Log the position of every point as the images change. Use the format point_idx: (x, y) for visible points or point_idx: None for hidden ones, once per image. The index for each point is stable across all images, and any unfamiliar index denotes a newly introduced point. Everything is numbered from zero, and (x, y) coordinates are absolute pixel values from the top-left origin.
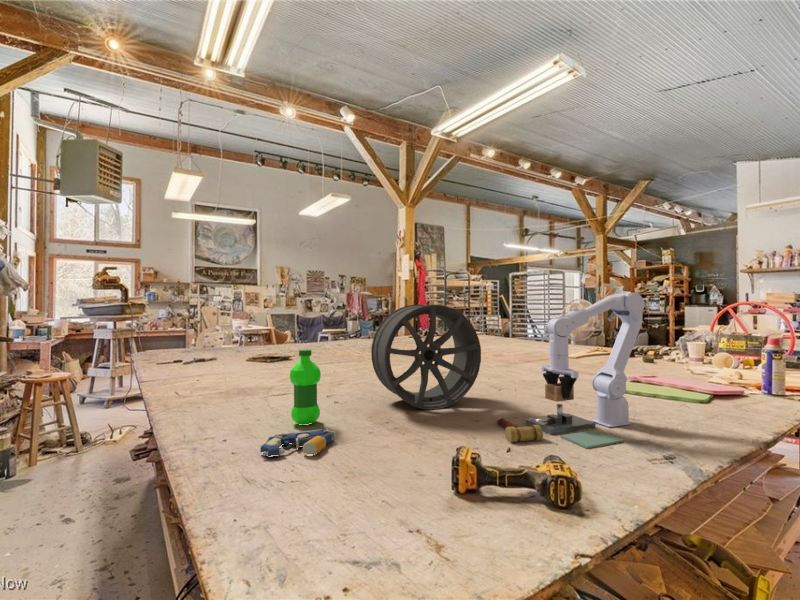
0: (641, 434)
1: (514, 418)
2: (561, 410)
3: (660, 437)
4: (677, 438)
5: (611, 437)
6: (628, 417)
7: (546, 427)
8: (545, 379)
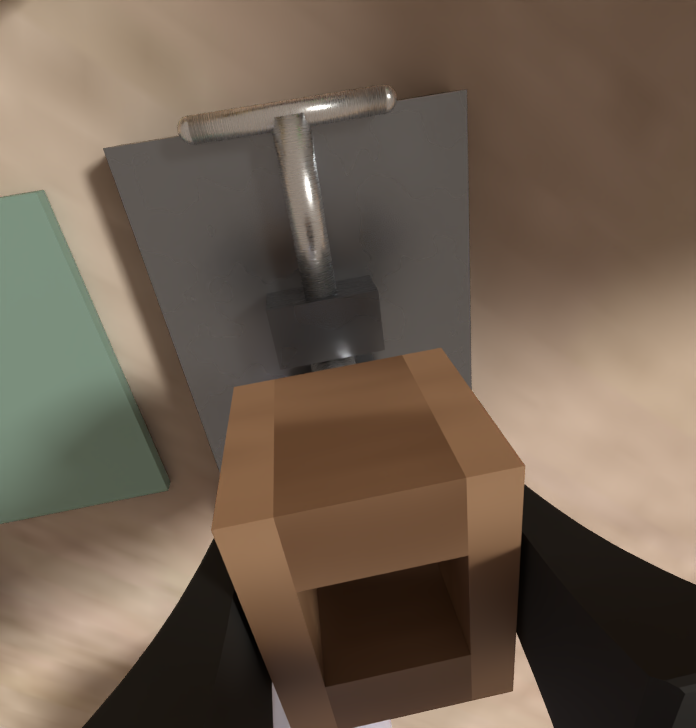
0: (109, 636)
1: (624, 83)
2: None
3: (60, 675)
4: (47, 714)
5: (6, 496)
6: None
7: (173, 147)
8: (657, 571)
